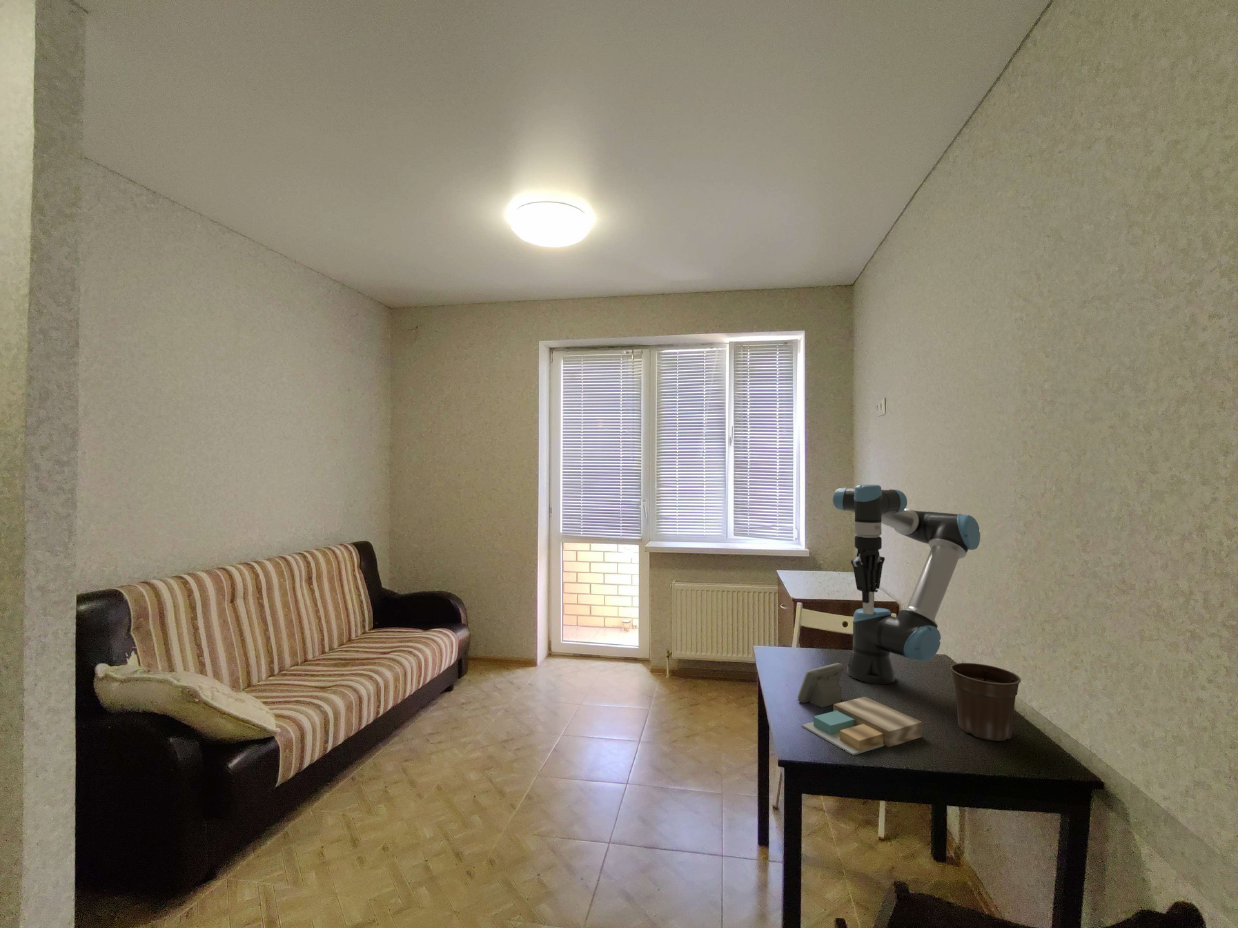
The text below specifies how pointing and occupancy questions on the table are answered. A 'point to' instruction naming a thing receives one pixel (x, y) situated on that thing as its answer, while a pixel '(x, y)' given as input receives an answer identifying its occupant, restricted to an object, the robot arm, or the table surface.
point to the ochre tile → (861, 737)
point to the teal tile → (833, 722)
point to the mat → (836, 740)
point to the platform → (882, 720)
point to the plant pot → (985, 700)
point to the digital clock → (822, 685)
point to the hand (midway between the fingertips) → (868, 612)
